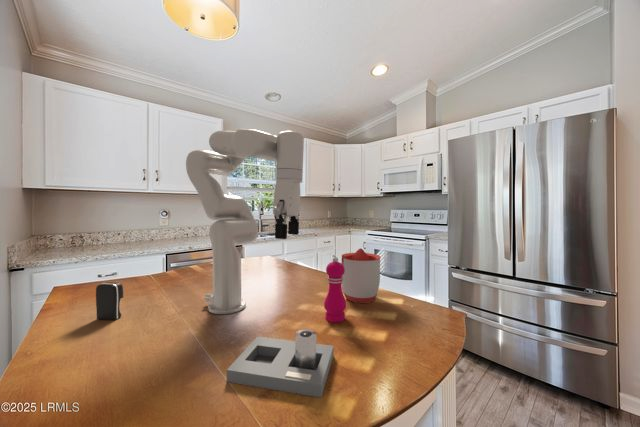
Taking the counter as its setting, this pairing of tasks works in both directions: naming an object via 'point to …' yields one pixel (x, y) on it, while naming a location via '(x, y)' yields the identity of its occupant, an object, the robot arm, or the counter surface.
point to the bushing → (305, 349)
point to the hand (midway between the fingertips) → (287, 236)
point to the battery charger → (108, 300)
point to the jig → (280, 367)
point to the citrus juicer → (361, 276)
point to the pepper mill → (335, 292)
